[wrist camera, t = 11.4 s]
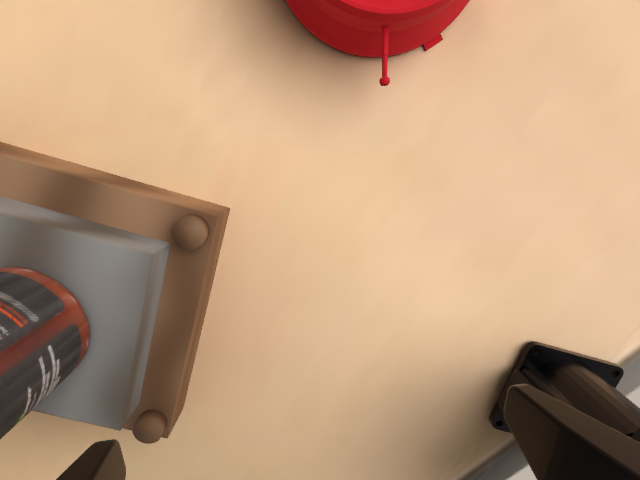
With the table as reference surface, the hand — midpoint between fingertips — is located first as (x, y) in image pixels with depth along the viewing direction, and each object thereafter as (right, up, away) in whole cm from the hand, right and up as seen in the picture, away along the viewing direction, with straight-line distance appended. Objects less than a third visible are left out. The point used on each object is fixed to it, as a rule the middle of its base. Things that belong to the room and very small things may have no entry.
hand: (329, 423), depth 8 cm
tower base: (-14, +1, +13) cm, 19 cm away
